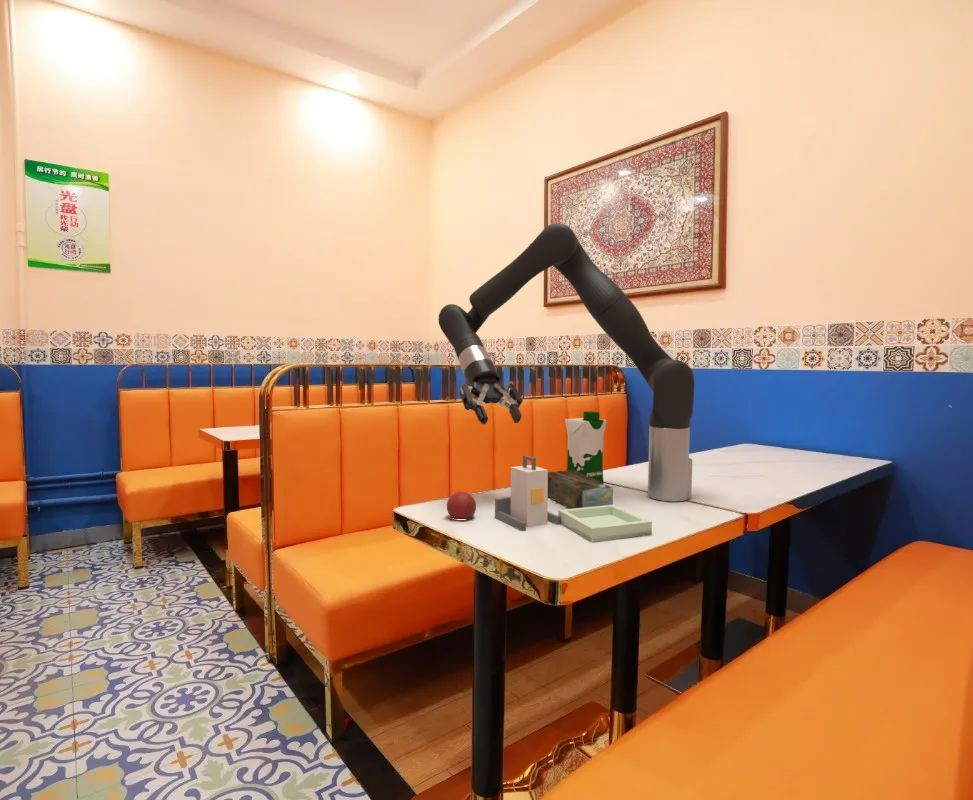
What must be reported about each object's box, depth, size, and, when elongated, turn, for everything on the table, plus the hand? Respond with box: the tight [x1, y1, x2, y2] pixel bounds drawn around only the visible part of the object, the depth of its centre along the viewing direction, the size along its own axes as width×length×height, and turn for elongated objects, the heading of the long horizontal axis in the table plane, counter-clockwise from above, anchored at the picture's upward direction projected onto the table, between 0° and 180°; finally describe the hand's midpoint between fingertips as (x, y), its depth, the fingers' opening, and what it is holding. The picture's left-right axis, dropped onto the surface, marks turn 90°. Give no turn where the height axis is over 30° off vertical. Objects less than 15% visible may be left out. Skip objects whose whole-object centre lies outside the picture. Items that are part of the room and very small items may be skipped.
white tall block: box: [510, 455, 549, 528], centre depth 109 cm, size 5×6×13 cm
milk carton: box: [564, 411, 608, 484], centre depth 139 cm, size 9×9×20 cm
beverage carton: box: [548, 470, 614, 509], centre depth 123 cm, size 8×19×7 cm, turn 18°
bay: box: [494, 495, 561, 532], centre depth 110 cm, size 9×10×4 cm
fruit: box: [446, 491, 477, 520], centre depth 111 cm, size 6×6×8 cm
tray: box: [557, 504, 653, 543], centre depth 105 cm, size 13×13×2 cm
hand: (502, 421), depth 119 cm, fingers open, 8 cm apart
